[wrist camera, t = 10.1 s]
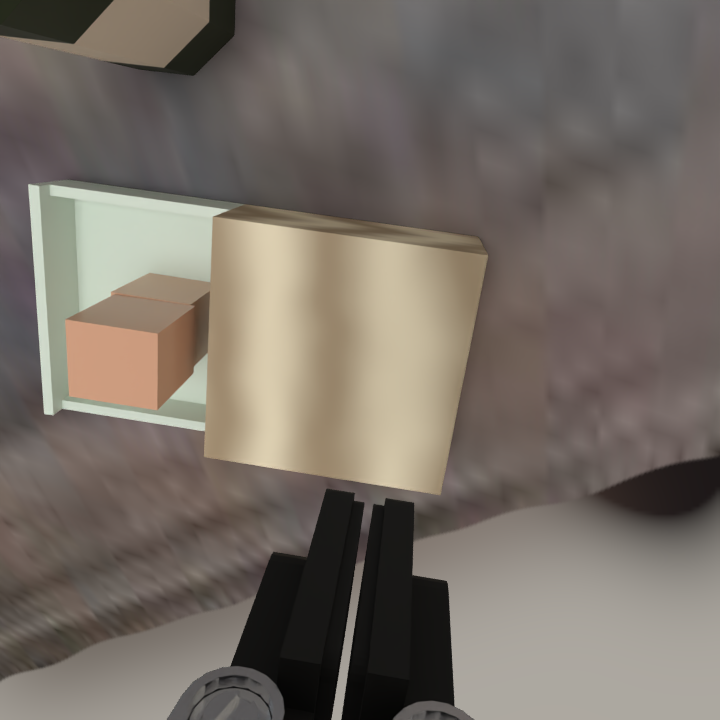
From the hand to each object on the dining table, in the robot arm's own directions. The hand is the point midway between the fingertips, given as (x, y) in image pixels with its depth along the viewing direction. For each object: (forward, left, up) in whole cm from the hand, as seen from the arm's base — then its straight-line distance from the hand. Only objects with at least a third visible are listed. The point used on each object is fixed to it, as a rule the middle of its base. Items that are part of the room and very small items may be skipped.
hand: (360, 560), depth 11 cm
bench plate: (+3, +5, -27) cm, 28 cm away
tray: (+16, +5, -27) cm, 32 cm away
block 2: (+11, +5, -19) cm, 22 cm away
